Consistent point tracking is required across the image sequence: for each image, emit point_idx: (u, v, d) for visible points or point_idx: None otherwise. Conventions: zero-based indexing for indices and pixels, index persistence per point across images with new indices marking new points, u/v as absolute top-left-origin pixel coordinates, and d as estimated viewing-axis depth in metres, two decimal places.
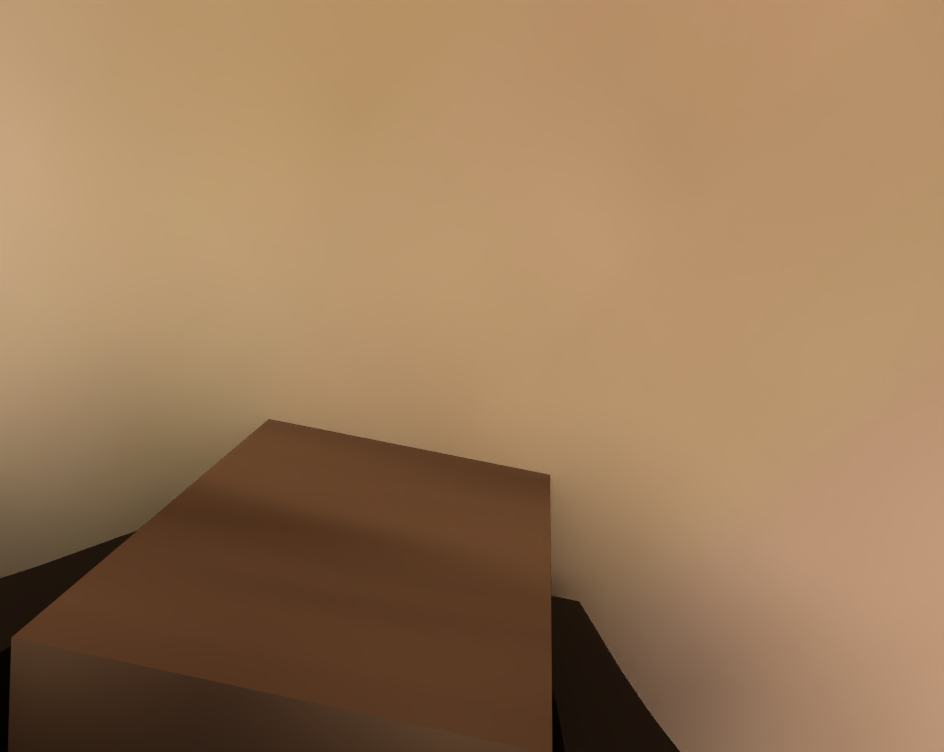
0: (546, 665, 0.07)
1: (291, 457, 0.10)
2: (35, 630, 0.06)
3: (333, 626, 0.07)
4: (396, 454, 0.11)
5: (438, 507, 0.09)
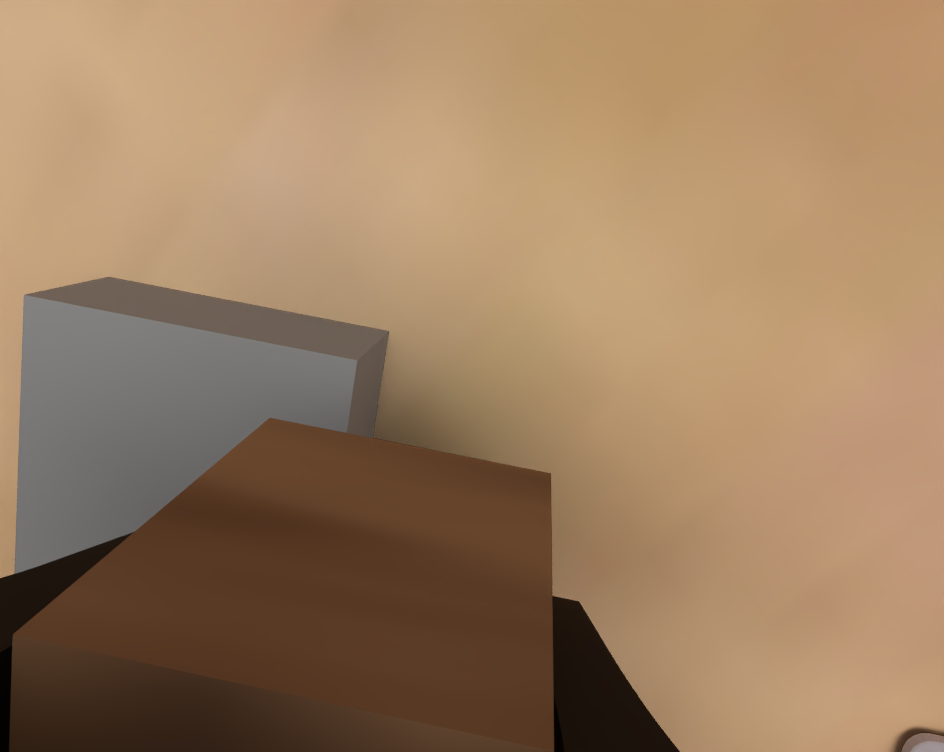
0: (548, 662, 0.07)
1: (292, 455, 0.10)
2: (36, 627, 0.06)
3: (335, 624, 0.07)
4: (396, 452, 0.11)
5: (439, 505, 0.09)
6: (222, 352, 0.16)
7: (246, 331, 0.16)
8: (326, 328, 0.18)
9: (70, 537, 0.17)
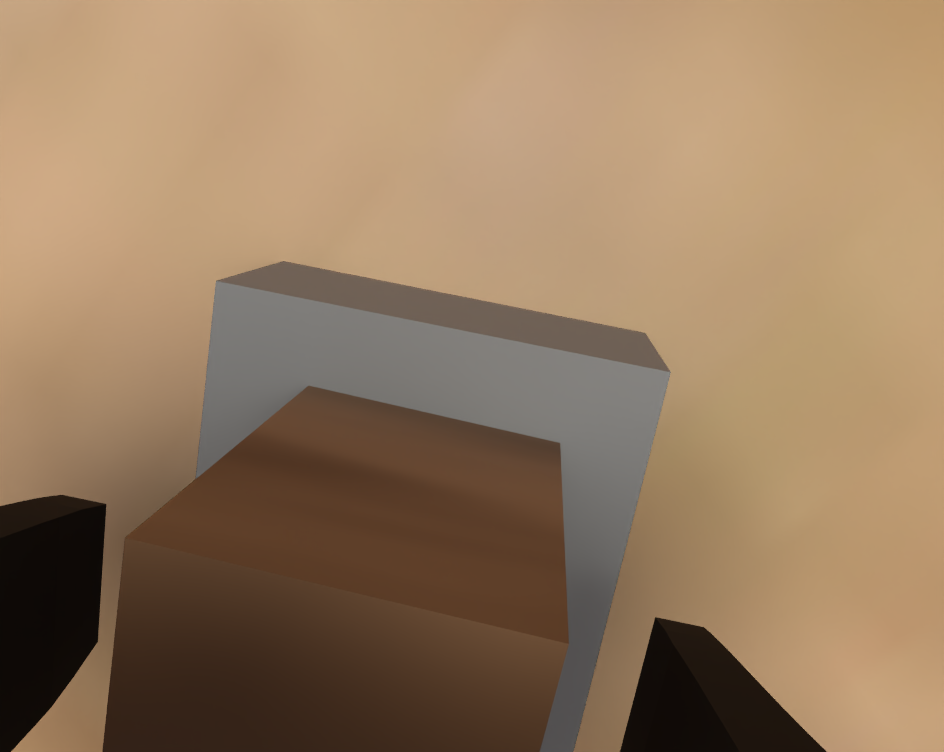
0: (562, 584, 0.08)
1: (332, 417, 0.11)
2: (142, 534, 0.07)
3: (383, 545, 0.08)
4: (423, 419, 0.12)
5: (463, 463, 0.10)
6: (483, 360, 0.12)
7: (507, 332, 0.12)
8: (581, 328, 0.14)
9: None
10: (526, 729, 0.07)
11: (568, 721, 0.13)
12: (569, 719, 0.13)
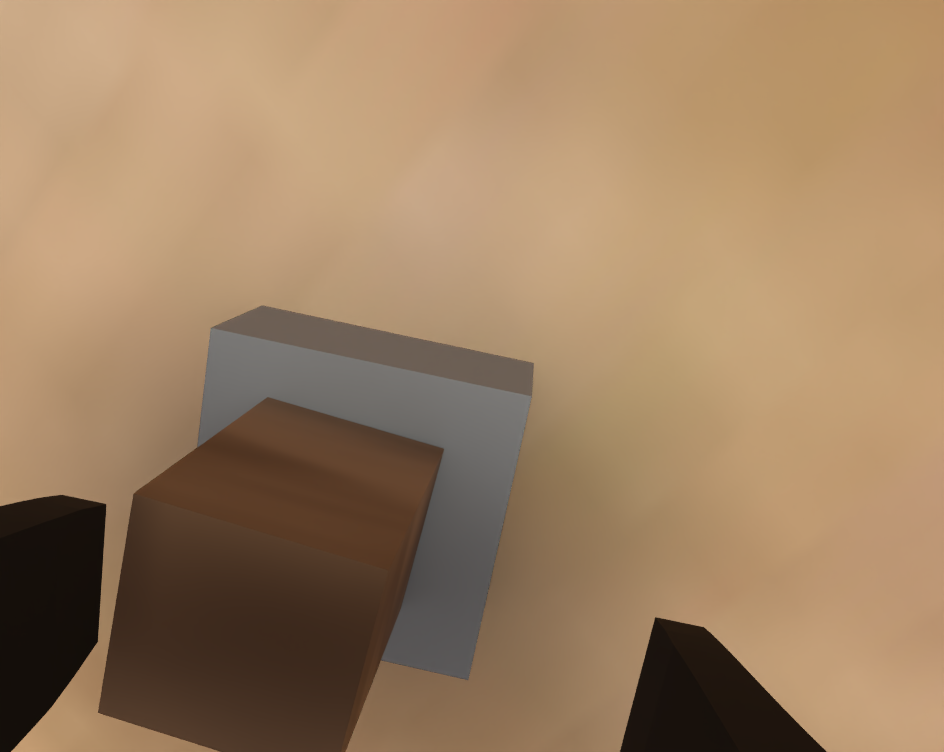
0: (400, 539, 0.13)
1: (279, 422, 0.16)
2: (143, 492, 0.12)
3: (292, 509, 0.13)
4: (346, 426, 0.17)
5: (364, 459, 0.15)
6: (401, 386, 0.17)
7: (420, 365, 0.17)
8: (481, 360, 0.19)
9: None
10: (364, 620, 0.12)
11: (466, 648, 0.18)
12: (466, 646, 0.18)
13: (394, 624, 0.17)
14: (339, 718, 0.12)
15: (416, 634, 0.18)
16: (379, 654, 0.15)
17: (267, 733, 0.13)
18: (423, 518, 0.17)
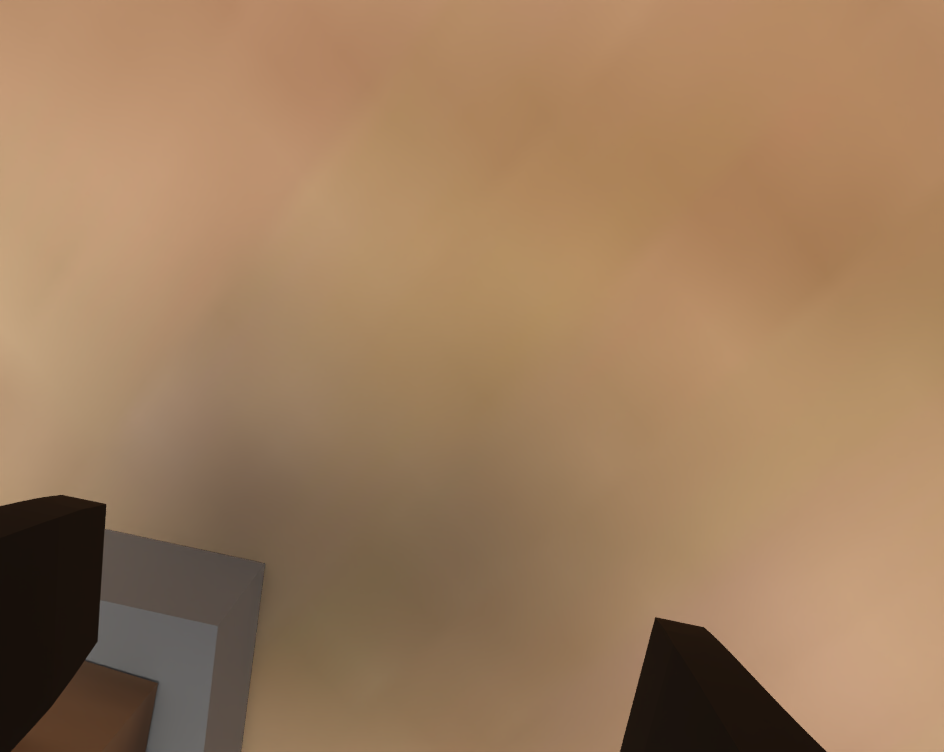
0: None
1: None
2: None
3: None
4: None
5: (61, 714, 0.17)
6: (105, 615, 0.19)
7: (129, 592, 0.19)
8: (206, 570, 0.21)
9: None
10: None
11: None
12: None
13: None
14: None
15: None
16: None
17: None
18: (135, 748, 0.19)
